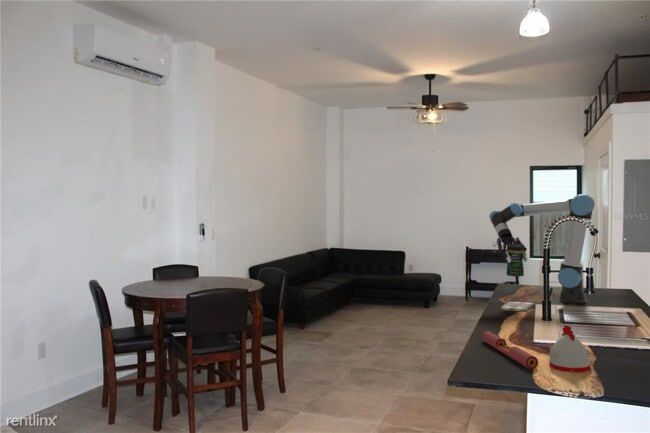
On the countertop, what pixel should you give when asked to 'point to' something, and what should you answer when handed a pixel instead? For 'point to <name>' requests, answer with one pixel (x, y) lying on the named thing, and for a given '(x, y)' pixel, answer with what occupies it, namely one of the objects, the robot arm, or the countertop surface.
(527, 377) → the countertop surface
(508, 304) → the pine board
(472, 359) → the countertop surface
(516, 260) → the coffee jar
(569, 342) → the grey hat
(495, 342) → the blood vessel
